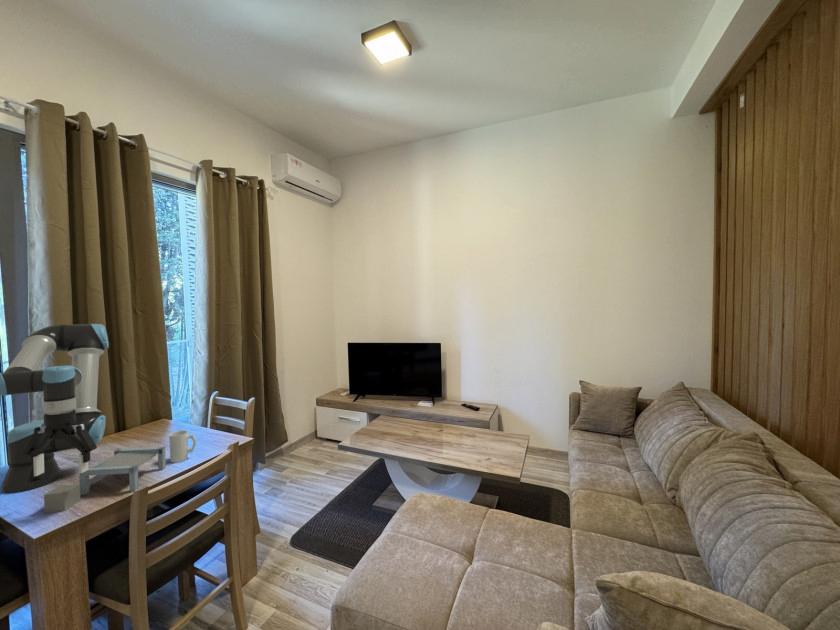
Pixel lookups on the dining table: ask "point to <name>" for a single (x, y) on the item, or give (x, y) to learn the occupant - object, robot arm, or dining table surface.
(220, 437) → the dining table surface
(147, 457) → the trapdoor
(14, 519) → the dining table surface
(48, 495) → the stone
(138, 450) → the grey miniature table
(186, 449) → the mug
